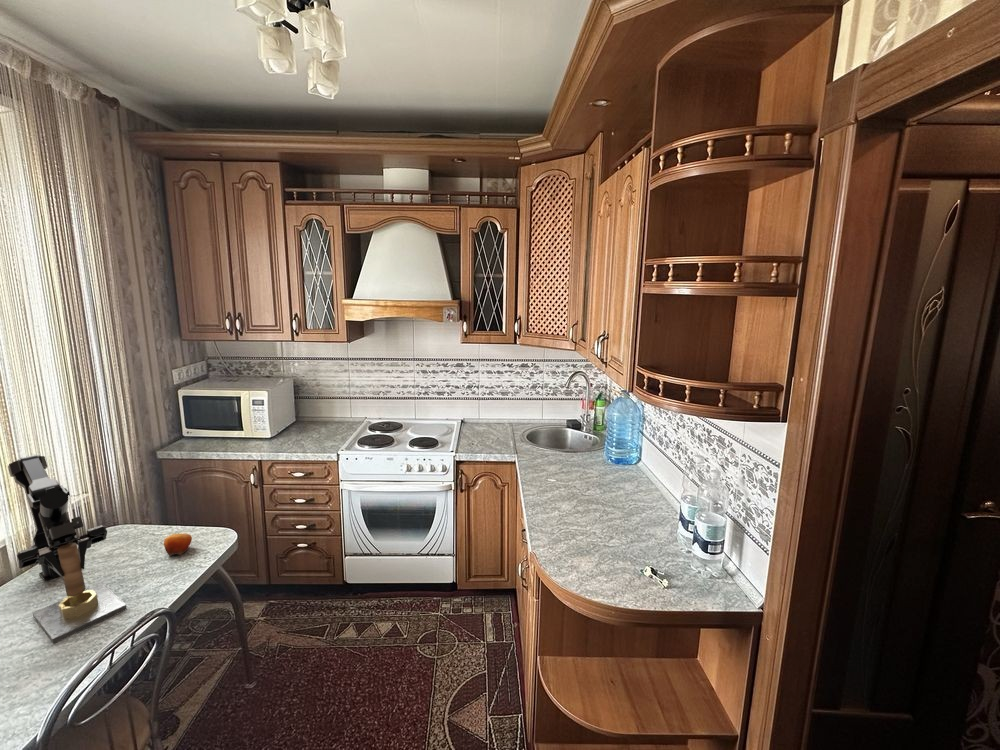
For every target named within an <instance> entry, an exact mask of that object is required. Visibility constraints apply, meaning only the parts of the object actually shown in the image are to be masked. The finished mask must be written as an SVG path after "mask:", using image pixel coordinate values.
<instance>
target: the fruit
mask: <svg viewBox="0 0 1000 750" xmlns="http://www.w3.org/2000/svg"><path fill="white" fill-rule="evenodd" d="M192 540H193V537H192V535H191V534H188V533H182V532H181V533H173V534H172V533H171V534H170V535H169V536H167V537H165V538H164V541H163V546H164V550H165V552H166V553H167V555H168V556H169V557H171V556H174V555H180V557H182V554H183V553H185V552H186V551H188V549H189V548H190V545H191V543H192Z"/></svg>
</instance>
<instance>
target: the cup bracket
mask: <svg viewBox="0 0 1000 750" xmlns="http://www.w3.org/2000/svg"><path fill="white" fill-rule="evenodd" d="M125 609H126V610H127V604H126V603H125V602H124V601H123V600H122V599H121V598H119V596H118V595H116V594H115V593H114V592H113V591H112V590H111V589H110V588H109V587H108V586H107V585H106V584H105V583H103V582H102V583H99V584H97V585H95V586H94V585H93V586H91V587H89V588H87V589H85V591H84V592H82V593H81V594H79V595H76V596H67V597H65V598H64V599H62V600H60V601H56V602H54V603H52V604H50V605H47V606H45V607H43V608H40V609H38V610H36V611H33V612H32V616H33V617H32V618H33V619H34V618H35V619H34V620H35V622H36V623H37V624H38V625H39V627H40V628H41V630H43V632H44V633H45V635H46V636H47V638H48V639H49V640H50V642H51V643H52V644H53V645H55V644H57V643H58V642H61V641H62V640H65V639H67V638H70V637H72V636H73V635H76V634H78V633H80V632H82V631H84V630H86V629H89V628H90V627H92V626H94V625H96V624H98V623H101V622H102V621H105V620H107V619H109V618H111V617H113V616H115V614H116V615H118V614H119V612H120V613H122V612H124V611H126V610H125ZM123 610H124V611H123ZM121 611H122V612H121ZM117 613H118V614H117Z"/></svg>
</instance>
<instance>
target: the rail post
mask: <svg viewBox="0 0 1000 750" xmlns="http://www.w3.org/2000/svg"><path fill="white" fill-rule="evenodd" d="M57 551H58V555H59V560H60V565H61V569H62V571H63V574H64V577H62V578H63V584H64V588H65V592H66V596H67V597H68V596H76V595H79V594H81V593H82V592H84V591H85V590H87V589H86V584H85V579H84V575H83V570H82V568H81V563H80V558H79V553H78V545H77V544H76V543H69V544H65V545H63V546H61V547H59V548H58V549H57Z"/></svg>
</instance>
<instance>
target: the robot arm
mask: <svg viewBox="0 0 1000 750" xmlns="http://www.w3.org/2000/svg"><path fill="white" fill-rule="evenodd" d="M47 463H48V462H47V459H46V457H45V455H40V454H32V455H27V456H23V457H19V458H17V460H15V461H12V462H11V463H9V464H8V466H7V469H8V474H9V476H10V478H13V480H14V482H15V483H16V484H17V485H19V486H20V487H22V488H23V490H24V492H25V496H26V500H27V503H28V507H29V511H30V513H31V518H32V520H33V524H34V527H35V530H36V531H35V534H34V537H33V539H32V541H31V542H32V545H31V546H30V548H26V549H24V550H20V551H18V552H17V554H16V562H17V565H18V568H19V569H24V568H27V567H30V566H33V565H39V566H40V567H41V572H39V573H38V574H39V576H40V577H41V578H42V580H43V581H44V582H46V581H50V580H53V579H54V578H57V577H59V576H60V577H61V578H63V577H64V574H63V571H62V569H61V565H60V560H59V555H58V551H57V549H58V548H59V547H61V546H63V545H65V544H69V543H76V544H77V548H78V553H79V558H80V563H81V568H82V571H83V570H84V569H85V562H86V561H85V559H86V553H87V550H88V549H90V548H91V547H92V545H94V544H97V543H100V542H103V541H105V540H106V539H107V537H108V536H107V535H108V530H107V528H106V526H105V525H103V524H100V525H98V526H95V527H92V528H91V527H90V528H89V529H87V530H86V534H83V535H81V536H77V534H78V533H77V531H76V530H79V529H81V528H83V527H84V522H83V520H82V518H81V515H80V516H77V517H73V518H71V519H70V518H69V515H68V507H69V506H68V505H69V496H70V495H71V494H70V491H69V490H68V488H67V487H64V485H63V484H62V485H60V483H59V482H58V480H57V479H53V478H50V477H49V475H48V473H47V471H46V469H47V468H48V467H49V466H48V464H47Z"/></svg>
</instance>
